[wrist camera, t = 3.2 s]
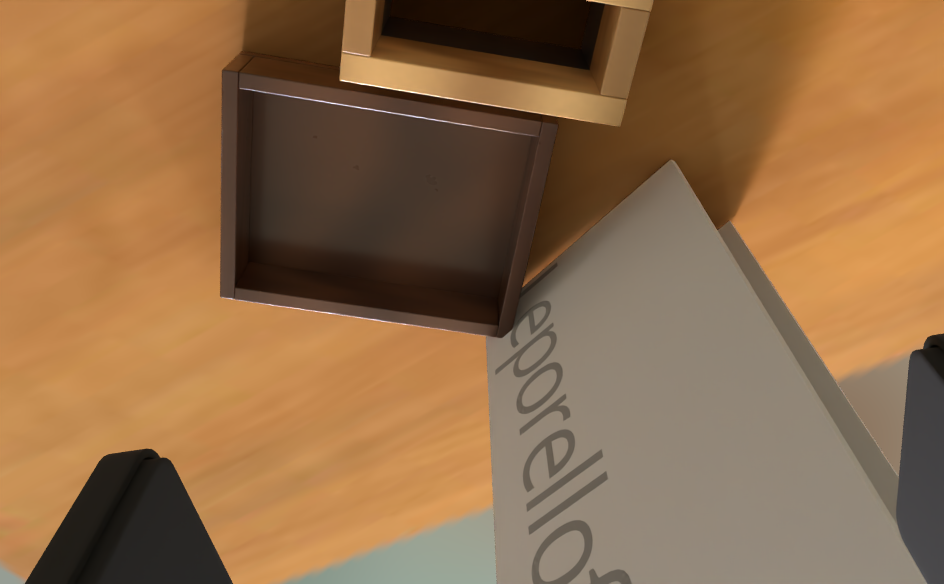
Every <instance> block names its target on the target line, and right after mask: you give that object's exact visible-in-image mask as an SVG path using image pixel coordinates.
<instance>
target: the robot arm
mask: <svg viewBox="0 0 944 584" xmlns="http://www.w3.org/2000/svg"><path fill="white" fill-rule="evenodd" d="M896 519H897V525H898V529H899V532H900V535H901V538H902V540H903V542H904V544H905V546H906V547H907V549H908V551H909V553H910V554H911V556H912V558H913V560H914V561H915V563H916V565H917V567H918V568H919V570H920V572H921V574H922V575H923V577H924V579H925V581H926V582H927V584H944V334H938V335H932V336H930V337H928V338H927V339H926V341H925V343H924V347H923V349H920V350H915V351H913V352H912V354H911V355H910V360H909V370H908V382H907V392H906V404H905V415H904V426H903V438H902V449H901V460H900V472H899V483H898V494H897V505H896ZM25 584H233V583H232V581H231V579H230V577H229V575H228V573H227V571H226V569H225V567H224V565H223V563H222V561H221V559H220V557H219V555H218V553H217V551H216V549H215V547H214V545H213V543H212V541H211V539H210V537H209V535H208V533H207V531H206V529H205V527H204V525H203V523H202V521H201V519H200V517H199V515H198V513H197V511H196V509H195V507H194V505H193V503H192V501H191V499H190V497H189V495H188V493H187V491H186V489H185V487H184V485H183V483H182V481H181V479H180V477H179V475H178V473H177V471H176V469H175V467H174V465H173V464H172V462H171V461H170V460H169V459H167V458H160V457H159V455H158V454H157V453H156V452H155V451H154V450H152V449H141V450H134V451H127V452H120V453H114V454H108V455H106V456H104V457H103V458H102V459H101V460H100V461H99V463H98V464H97V466H96V468H95V469H94V471H93V473H92V474H91V476H90V477H89V479H88V481H87V482H86V484H85V486H84V487H83V489H82V491H81V492H80V494H79V496H78V497H77V499H76V500H75V502H74V504H73V505H72V507H71V509H70V510H69V512H68V514H67V515H66V517H65V519H64V520H63V522H62V523H61V525H60V527H59V528H58V530H57V532H56V533H55V535H54V537H53V538H52V540H51V541H50V543H49V545H48V546H47V548H46V550H45V551H44V553H43V555H42V556H41V558H40V560H39V561H38V563H37V564H36V566H35V568H34V569H33V571H32V573H31V574H30V576H29V578H28V579H27V581H26V582H25Z"/></svg>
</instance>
